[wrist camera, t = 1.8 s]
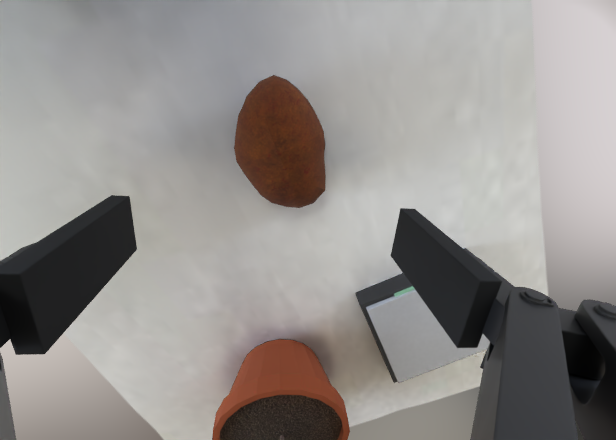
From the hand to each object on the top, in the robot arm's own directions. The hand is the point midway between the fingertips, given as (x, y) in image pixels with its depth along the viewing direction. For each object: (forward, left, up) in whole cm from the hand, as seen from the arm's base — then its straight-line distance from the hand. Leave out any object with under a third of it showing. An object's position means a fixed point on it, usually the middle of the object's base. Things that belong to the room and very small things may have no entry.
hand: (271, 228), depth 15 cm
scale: (+18, +20, -16) cm, 31 cm away
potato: (-2, +1, -16) cm, 16 cm away
